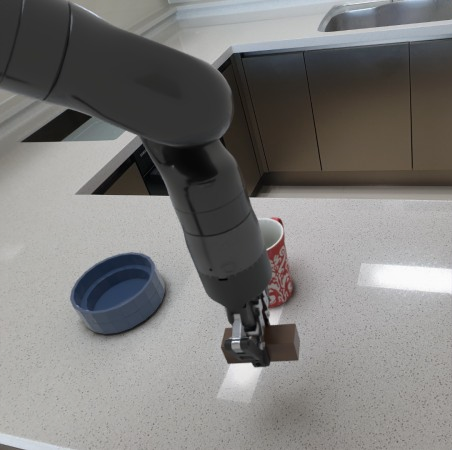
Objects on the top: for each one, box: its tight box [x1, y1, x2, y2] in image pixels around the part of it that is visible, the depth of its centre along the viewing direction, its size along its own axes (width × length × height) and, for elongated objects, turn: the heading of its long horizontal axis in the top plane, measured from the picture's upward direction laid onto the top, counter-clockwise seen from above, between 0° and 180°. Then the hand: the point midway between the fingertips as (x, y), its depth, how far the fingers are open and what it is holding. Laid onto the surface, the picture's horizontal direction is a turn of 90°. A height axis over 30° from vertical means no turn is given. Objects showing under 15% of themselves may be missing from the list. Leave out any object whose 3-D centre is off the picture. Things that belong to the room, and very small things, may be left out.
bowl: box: [69, 251, 166, 335], centre depth 85 cm, size 15×15×6 cm
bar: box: [220, 323, 301, 365], centre depth 57 cm, size 9×3×3 cm, turn 86°
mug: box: [257, 216, 294, 308], centre depth 79 cm, size 13×9×14 cm
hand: (263, 351), depth 58 cm, fingers closed on bar, 3 cm apart
